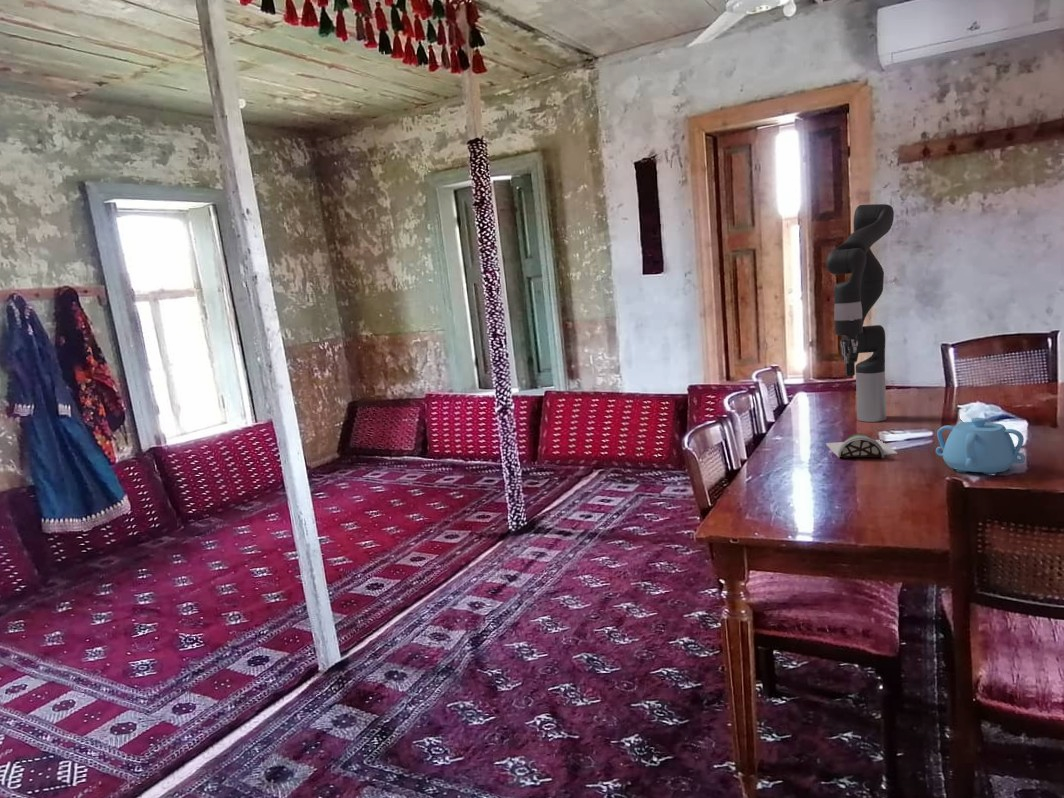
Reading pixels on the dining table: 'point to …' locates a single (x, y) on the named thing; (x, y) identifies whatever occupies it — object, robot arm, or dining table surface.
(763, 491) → the dining table surface
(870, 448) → the food container
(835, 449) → the mat
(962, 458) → the decorative pot
